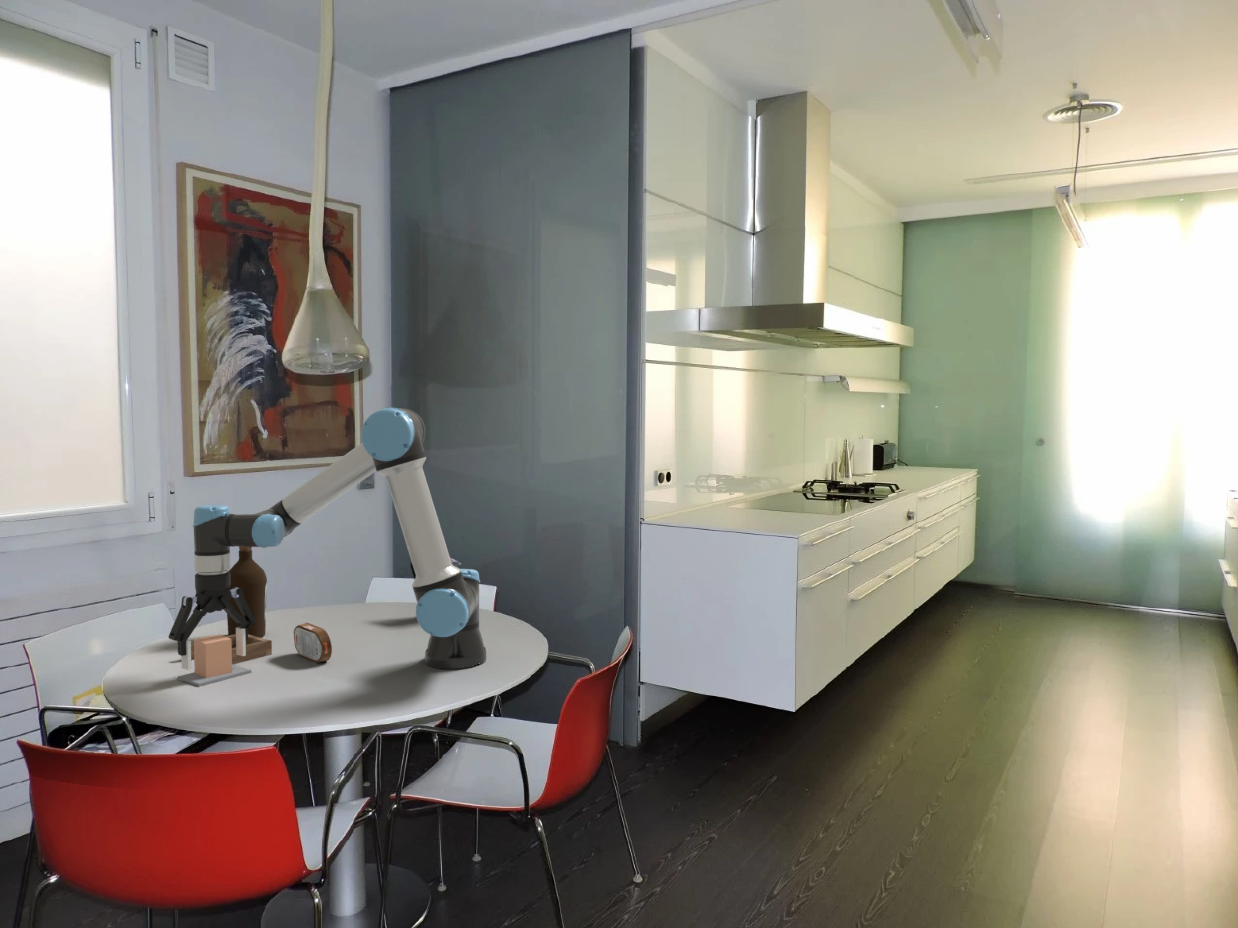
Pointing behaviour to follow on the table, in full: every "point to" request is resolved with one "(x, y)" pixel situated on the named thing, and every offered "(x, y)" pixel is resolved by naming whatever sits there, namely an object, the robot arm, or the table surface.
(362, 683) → the table surface
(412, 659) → the table surface
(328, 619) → the table surface
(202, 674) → the block
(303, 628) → the tin
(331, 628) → the table surface
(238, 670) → the mat
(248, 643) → the bay
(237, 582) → the olive oil
